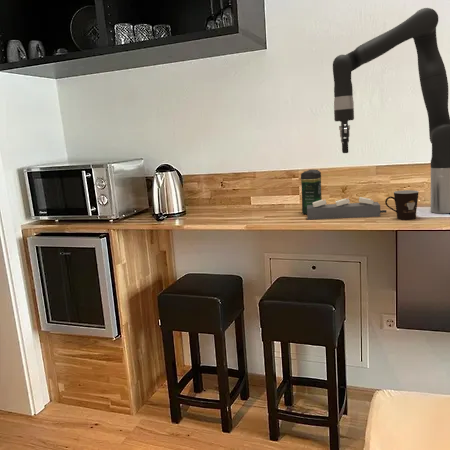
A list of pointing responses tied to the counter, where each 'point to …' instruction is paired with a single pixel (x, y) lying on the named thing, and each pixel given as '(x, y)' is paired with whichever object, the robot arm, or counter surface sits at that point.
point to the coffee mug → (405, 204)
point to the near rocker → (366, 200)
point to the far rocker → (319, 203)
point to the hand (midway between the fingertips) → (345, 152)
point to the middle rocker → (342, 201)
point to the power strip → (344, 211)
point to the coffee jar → (310, 188)
